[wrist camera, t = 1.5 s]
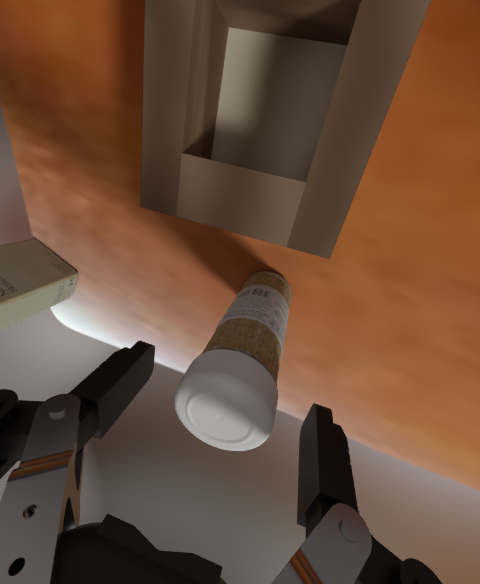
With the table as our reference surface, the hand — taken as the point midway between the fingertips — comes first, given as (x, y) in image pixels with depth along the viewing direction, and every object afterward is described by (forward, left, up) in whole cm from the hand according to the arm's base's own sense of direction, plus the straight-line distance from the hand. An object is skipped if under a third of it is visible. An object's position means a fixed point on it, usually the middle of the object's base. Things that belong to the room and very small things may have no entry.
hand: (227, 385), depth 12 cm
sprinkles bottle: (0, 0, -12) cm, 12 cm away
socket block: (+3, -13, -12) cm, 18 cm away
